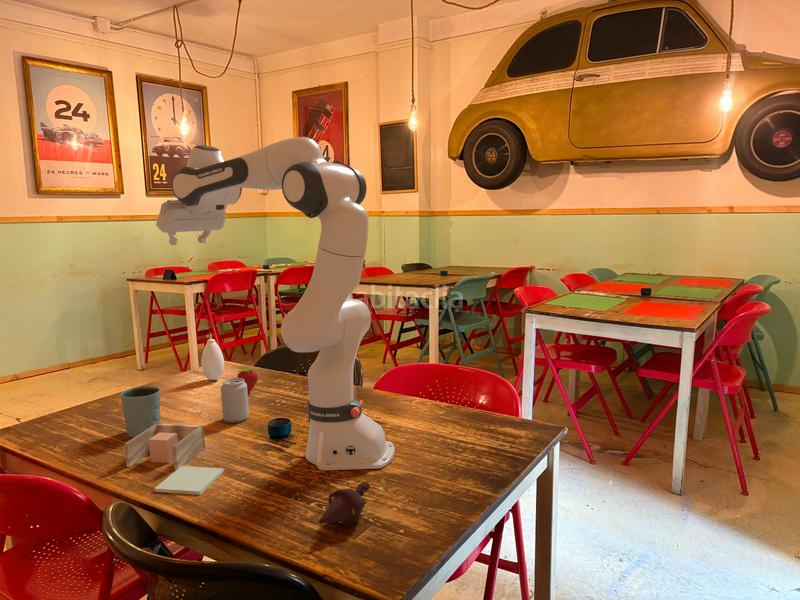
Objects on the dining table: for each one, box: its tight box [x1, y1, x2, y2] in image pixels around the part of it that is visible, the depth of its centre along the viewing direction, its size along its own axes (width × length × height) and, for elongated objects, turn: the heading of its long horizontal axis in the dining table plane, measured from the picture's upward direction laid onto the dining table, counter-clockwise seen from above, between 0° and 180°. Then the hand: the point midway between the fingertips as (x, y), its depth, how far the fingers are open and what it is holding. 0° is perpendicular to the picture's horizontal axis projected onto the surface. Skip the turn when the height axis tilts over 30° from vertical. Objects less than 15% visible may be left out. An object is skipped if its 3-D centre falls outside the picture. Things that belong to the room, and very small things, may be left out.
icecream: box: [318, 481, 370, 526], centre depth 110 cm, size 7×7×15 cm
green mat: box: [154, 465, 225, 496], centre depth 129 cm, size 11×11×1 cm
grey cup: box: [120, 385, 161, 439], centre depth 158 cm, size 10×10×12 cm
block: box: [149, 432, 178, 464], centre depth 141 cm, size 5×4×6 cm
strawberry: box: [236, 365, 259, 393], centre depth 191 cm, size 6×8×10 cm
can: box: [220, 377, 250, 424], centre depth 166 cm, size 8×8×12 cm
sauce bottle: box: [200, 332, 225, 381], centre depth 205 cm, size 8×8×18 cm
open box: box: [124, 423, 206, 471], centre depth 142 cm, size 14×13×6 cm
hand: (187, 243), depth 165 cm, fingers open, 8 cm apart
